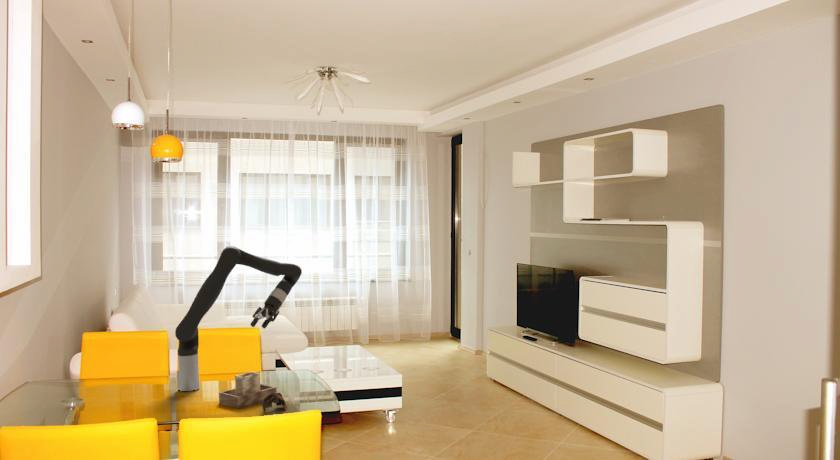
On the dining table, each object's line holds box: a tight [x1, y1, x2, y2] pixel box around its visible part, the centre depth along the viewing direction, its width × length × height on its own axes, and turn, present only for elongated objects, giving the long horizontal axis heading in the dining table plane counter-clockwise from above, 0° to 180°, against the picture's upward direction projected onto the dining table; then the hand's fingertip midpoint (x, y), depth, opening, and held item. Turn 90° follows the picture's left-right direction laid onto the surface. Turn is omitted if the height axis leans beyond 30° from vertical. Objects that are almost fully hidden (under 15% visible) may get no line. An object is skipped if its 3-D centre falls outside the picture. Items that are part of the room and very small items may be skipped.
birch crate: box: [234, 371, 261, 397], centre depth 290 cm, size 9×6×11 cm, turn 140°
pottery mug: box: [261, 392, 288, 412], centre depth 275 cm, size 12×10×8 cm
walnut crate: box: [218, 383, 278, 410], centre depth 290 cm, size 20×15×5 cm
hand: (257, 326), depth 306 cm, fingers open, 8 cm apart
